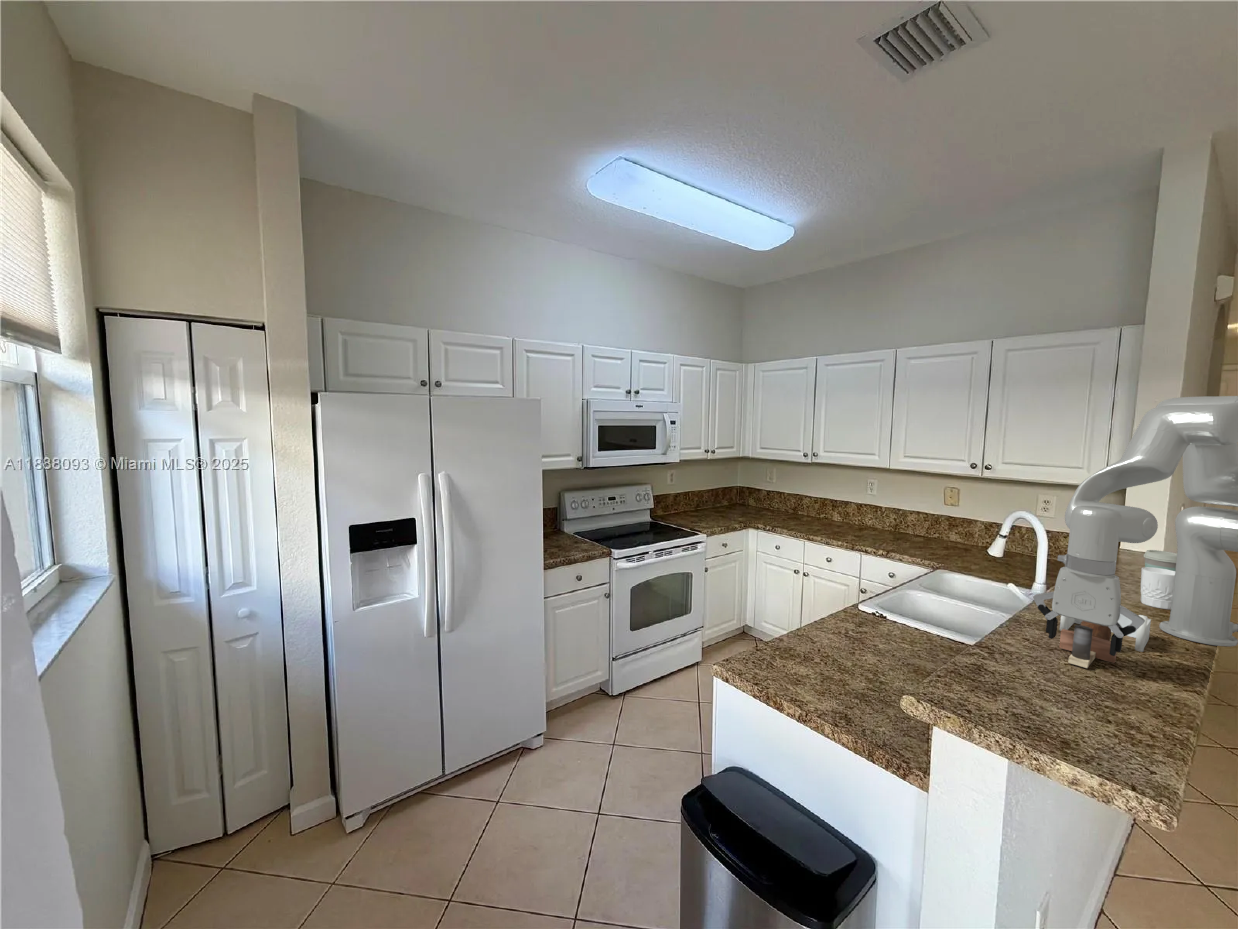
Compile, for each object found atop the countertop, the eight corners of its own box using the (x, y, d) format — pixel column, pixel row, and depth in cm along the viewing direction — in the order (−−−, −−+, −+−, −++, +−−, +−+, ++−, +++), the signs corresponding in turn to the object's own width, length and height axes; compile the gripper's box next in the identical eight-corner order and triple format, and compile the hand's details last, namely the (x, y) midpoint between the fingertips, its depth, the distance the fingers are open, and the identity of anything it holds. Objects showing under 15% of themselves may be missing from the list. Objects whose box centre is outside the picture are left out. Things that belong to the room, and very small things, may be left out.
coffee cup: (1173, 589, 160) (1178, 552, 158) (1184, 597, 152) (1189, 558, 151) (1135, 584, 164) (1139, 548, 163) (1144, 591, 157) (1149, 553, 156)
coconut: (1114, 653, 113) (1118, 619, 112) (1086, 650, 114) (1090, 616, 114) (1100, 644, 118) (1103, 610, 117) (1073, 640, 119) (1077, 607, 119)
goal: (1143, 652, 114) (1147, 617, 113) (1058, 630, 125) (1062, 598, 125) (1149, 640, 121) (1153, 607, 120) (1069, 620, 132) (1072, 590, 131)
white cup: (1168, 603, 147) (1172, 569, 146) (1184, 612, 140) (1188, 577, 139) (1132, 598, 150) (1136, 565, 149) (1146, 607, 143) (1150, 572, 142)
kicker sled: (1107, 674, 102) (1111, 637, 102) (1050, 657, 109) (1053, 623, 109) (1115, 661, 108) (1119, 626, 108) (1060, 645, 115) (1064, 613, 115)
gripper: (1033, 559, 110) (1025, 635, 111) (1147, 579, 96) (1136, 666, 98) (1042, 554, 115) (1034, 627, 116) (1152, 573, 101) (1142, 656, 103)
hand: (1081, 645), depth 107 cm, fingers open, 9 cm apart
